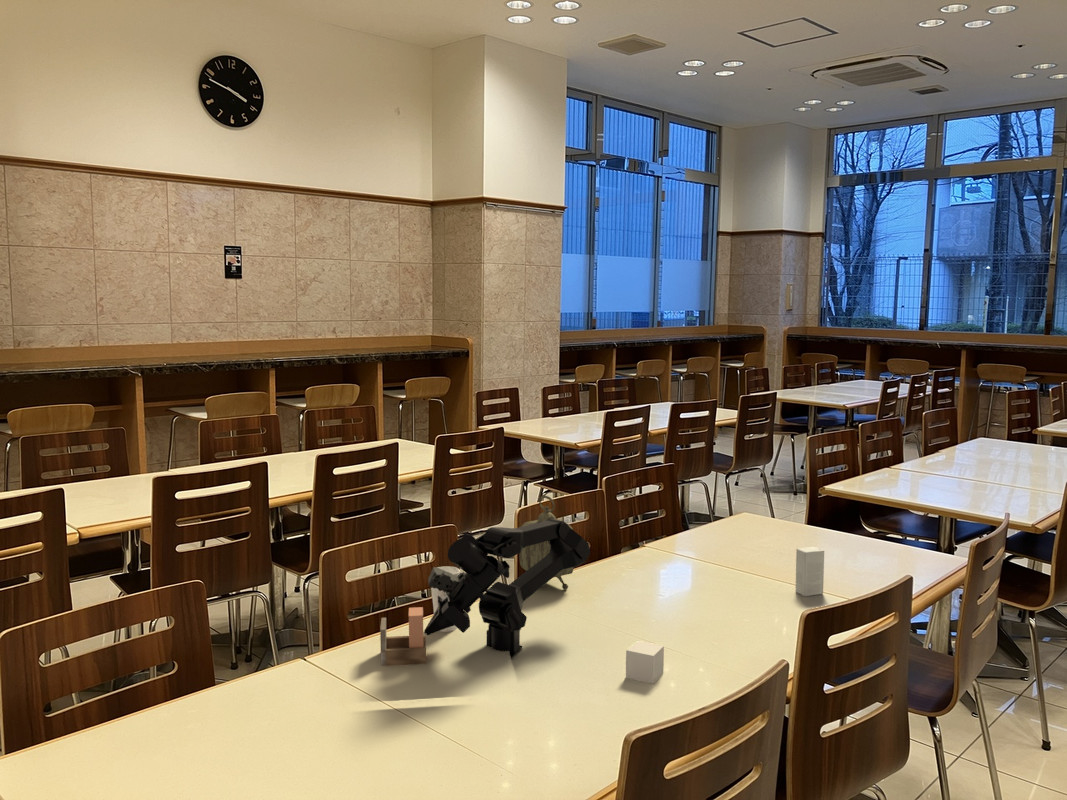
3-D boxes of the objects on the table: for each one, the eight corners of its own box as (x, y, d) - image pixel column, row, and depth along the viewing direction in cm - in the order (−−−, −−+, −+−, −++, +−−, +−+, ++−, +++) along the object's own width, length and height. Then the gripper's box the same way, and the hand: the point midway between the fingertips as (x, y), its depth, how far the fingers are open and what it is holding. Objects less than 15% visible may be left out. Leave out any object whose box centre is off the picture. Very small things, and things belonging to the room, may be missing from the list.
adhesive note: (653, 684, 178) (653, 655, 177) (625, 678, 181) (626, 650, 180) (663, 673, 183) (663, 645, 183) (636, 667, 186) (637, 640, 185)
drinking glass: (456, 639, 201) (455, 575, 199) (428, 637, 202) (427, 573, 201) (464, 628, 208) (464, 567, 206) (437, 626, 209) (436, 565, 207)
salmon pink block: (423, 651, 191) (422, 607, 190) (423, 660, 186) (423, 615, 185) (409, 652, 190) (408, 607, 189) (409, 661, 185) (408, 616, 184)
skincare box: (813, 589, 237) (815, 546, 235) (823, 594, 233) (825, 550, 231) (794, 591, 235) (795, 548, 233) (803, 596, 231) (805, 552, 229)
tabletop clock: (574, 590, 235) (575, 499, 232) (547, 596, 230) (547, 503, 227) (543, 576, 247) (544, 489, 244) (516, 582, 242) (516, 493, 239)
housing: (430, 654, 192) (429, 614, 191) (431, 669, 185) (430, 628, 184) (382, 656, 191) (381, 616, 190) (380, 672, 183) (380, 630, 182)
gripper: (447, 543, 195) (397, 594, 195) (453, 569, 177) (399, 624, 177) (482, 576, 198) (433, 626, 197) (492, 604, 179) (438, 659, 179)
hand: (425, 633), depth 187 cm, fingers closed
